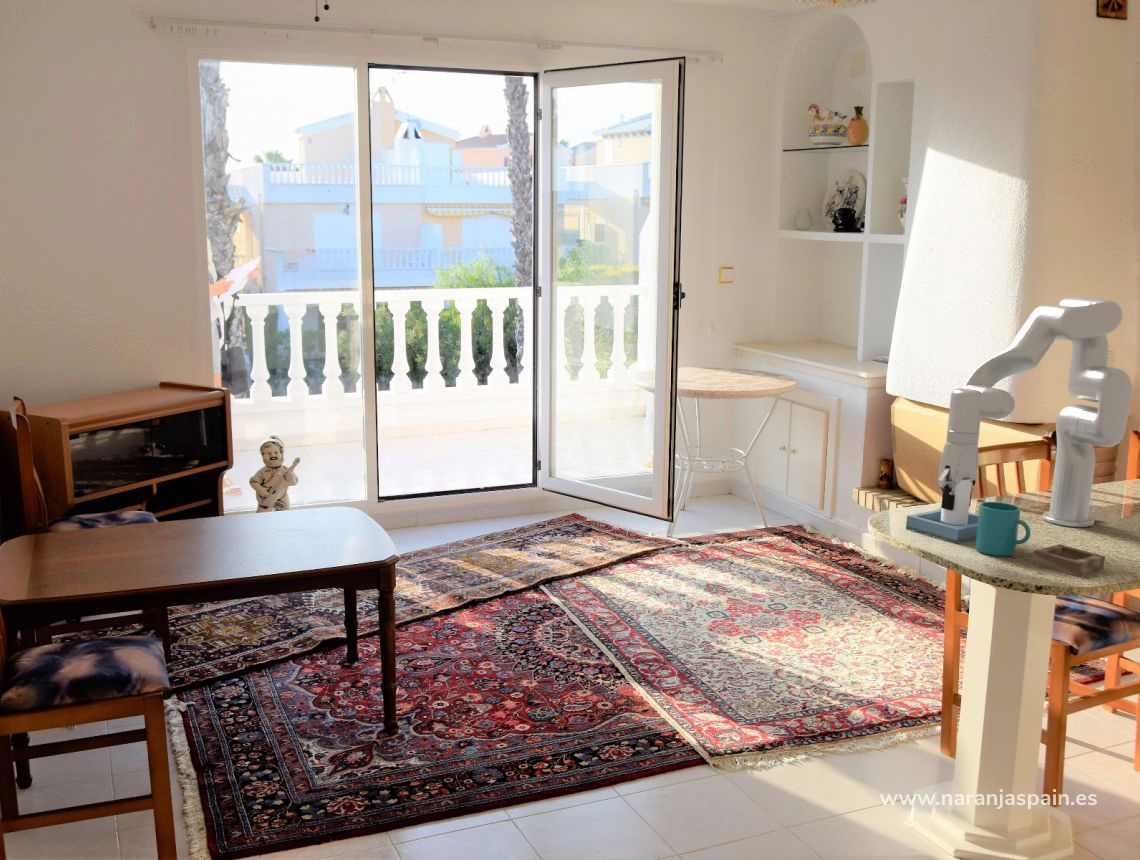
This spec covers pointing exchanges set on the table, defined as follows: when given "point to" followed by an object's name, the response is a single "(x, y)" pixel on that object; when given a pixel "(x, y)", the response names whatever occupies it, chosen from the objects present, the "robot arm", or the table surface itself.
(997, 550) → the cup
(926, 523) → the tray
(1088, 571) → the holder
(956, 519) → the can
